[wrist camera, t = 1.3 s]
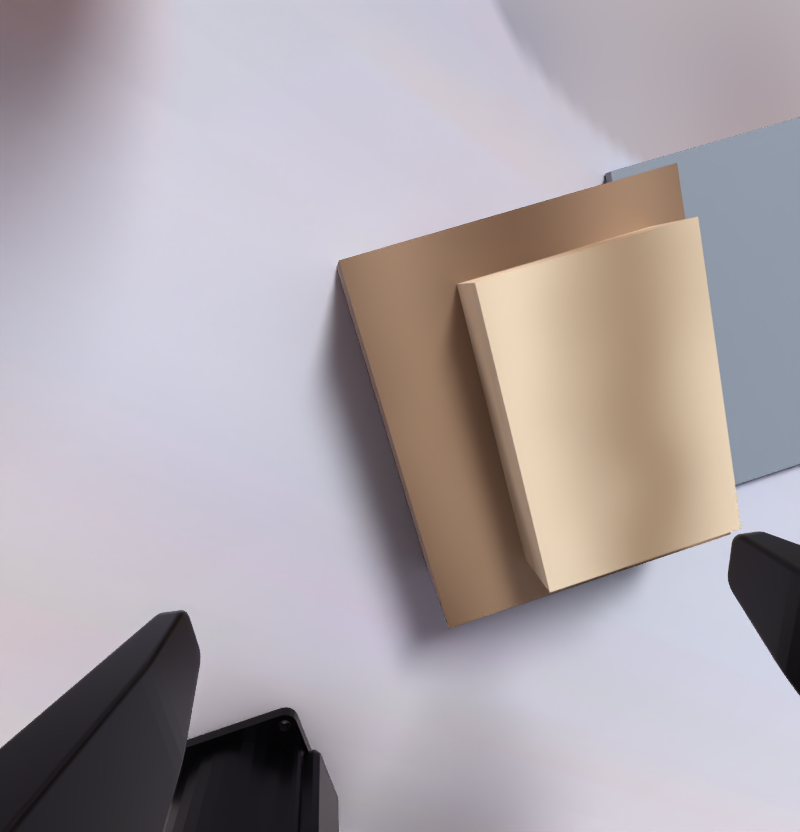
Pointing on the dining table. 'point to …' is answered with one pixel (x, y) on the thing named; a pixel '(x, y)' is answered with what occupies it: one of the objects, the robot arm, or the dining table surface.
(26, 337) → the dining table surface
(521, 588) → the brown wooden flat block
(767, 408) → the mat
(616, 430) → the beige rectangular block
